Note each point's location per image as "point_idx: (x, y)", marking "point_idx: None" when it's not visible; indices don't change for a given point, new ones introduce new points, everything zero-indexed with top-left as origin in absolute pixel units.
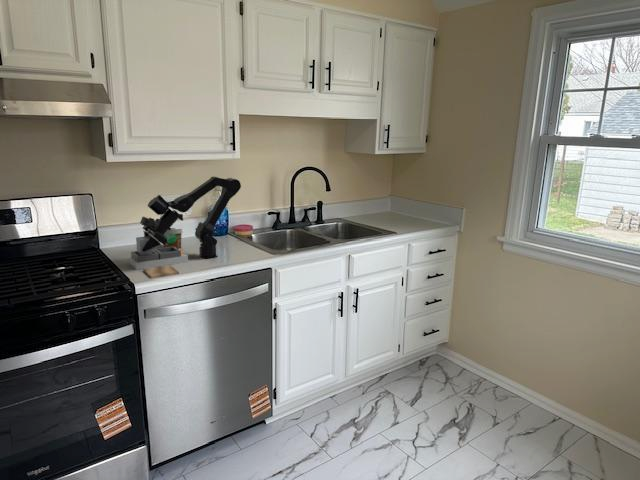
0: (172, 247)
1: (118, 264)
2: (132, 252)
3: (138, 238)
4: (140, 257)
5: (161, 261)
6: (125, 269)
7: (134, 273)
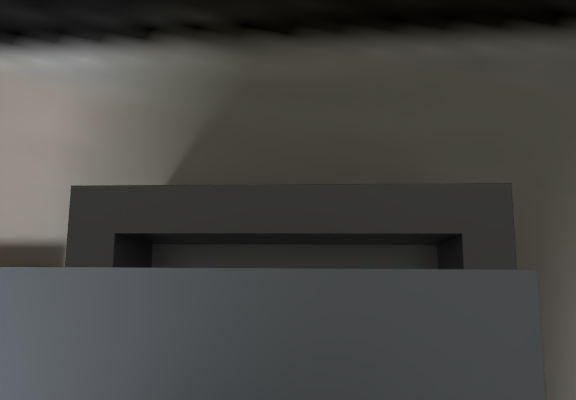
0: None
1: (528, 64)
2: (445, 197)
3: (261, 319)
4: (74, 256)
5: None
6: (248, 91)
7: (23, 146)
